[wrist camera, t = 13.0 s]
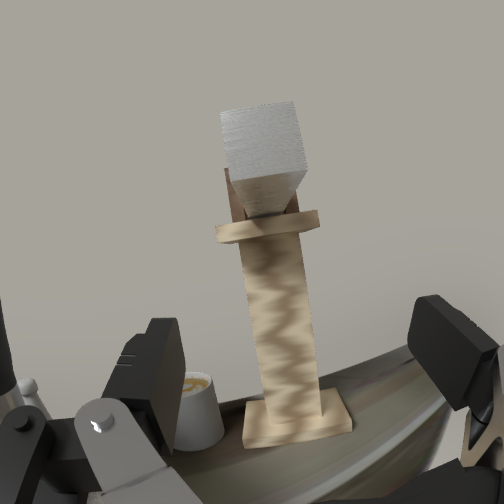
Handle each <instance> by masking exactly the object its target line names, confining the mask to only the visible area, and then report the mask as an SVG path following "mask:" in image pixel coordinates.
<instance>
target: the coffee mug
mask: <svg viewBox="0 0 504 504" xmlns="http://www.w3.org/2000/svg"><path fill="white" fill-rule="evenodd" d="M224 432H225V430H224V426H223V422H222V418H221V414H220V410H219V406H218V402H217V398H216V394H215V390H214V386H213V381H212V378H211V376H209V375H208V374H205V373H201V372H185V380H184V385H183V391H182V397H181V403H180V409H179V415H178V421H177V427H176V434H175V440H174V447H173V448H174V449H177V450H181V451H198V450H203V449H206V448H209V447H211V446H213V445H215V444H216V443H218V442H219V441H220V440H221V439H222V437H223V436H224Z"/></svg>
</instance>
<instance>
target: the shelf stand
mask: <svg viewBox="0 0 504 504" xmlns="http://www.w3.org/2000/svg"><path fill="white" fill-rule="evenodd" d="M225 176H226V182H227V189H228V195H229V202H230V208H231V215H232V220H233V223H230V224H224V225H218V226H215V229H216V235H217V241H218V243H226V244H233V243H239V249H240V255H241V261H242V267H243V273H244V280H245V285H246V292H247V298H248V303H249V310H250V316H251V322H252V327H253V333H254V339H255V345H256V351H257V357H258V363H259V368H260V374H261V380H262V385H263V391H264V397H265V400H257V401H249V402H247V403H246V411H245V420H244V429H243V437H242V440H243V444H244V448H245V449H250V448H260V447H269V446H277V445H285V444H291V443H298V442H304V441H309V440H315V439H320V438H325V437H330V436H335V435H339V434H344V433H348V432H352V420H351V418H350V416H349V414H348V412H347V410H346V408H345V406H344V404H343V402H342V400H341V398H340V396H339V394H338V392H337V390H336V388H330V389H325V390H320V391H319V381H318V372H317V363H316V354H315V346H314V337H313V329H312V321H311V313H310V307H309V298H308V291H307V284H306V277H305V270H304V264H303V257H302V251H301V245H300V238H299V233H301V232H306V231H309V230H312V229H314V228H317V227H320V224H319V218H318V212H317V210H312V211H305V212H299V206H298V200H297V195H296V191H295V193H294V194H293V196H292V198H291V199H290V201H289V203H288V205H287V206H286V208H285V210H284V214H285V215H279V216H272V217H266V218H260V219H254V220H248V221H247V219H246V213H245V209H244V208H243V206H242V204H241V202H240V200H239V198H238V196H237V194H236V192H235V190H234V188H233V186H232V184H231V182H230V177H229V170H228V168H225Z"/></svg>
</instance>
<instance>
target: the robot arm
mask: <svg viewBox="0 0 504 504" xmlns="http://www.w3.org/2000/svg"><path fill="white" fill-rule="evenodd" d="M407 339H408V340H407V341H408V347H409V350H410V352H411V353H412V354H413V356H414V357H415V358H416V359H417V361H418V362H419V363H420V365H421V366H422V367H423V369H424V370H425V371H426V373H427V374H428V375H429V377H430V378H431V379H432V381H433V382H434V383H435V385H436V386H437V387H438V389H439V390H440V392H441V393H442V394H443V396H444V397H445V398H446V400H447V401H448V403H449V404H450V405H451V407H452V408H453V410H454V411H457V410H460V409H462V408H464V407H467V406H469V408H470V410H469V411H468V413H467V416H466V422H465V432H464V440H463V448H462V454H461V459H460V461H459V459H458V458H456V459H454V460H452V461H450V462H447V463H446V464H443V465H441V466H438V467H436V468H434V469H431V470H429V471H427V472H424V473H422V474H421V475H419V476H418V477H416V478H415V479H413V480H412V481H410V482H409V483H407V484H406V485H404V486H403V487H401V488H400V489H398V490H396V491H395V492H393V493H391V494H390V495H388V496H386V497H383V498H373V499H355V500H330V501H324V502H319V503H313V504H504V345H502V346H499V345H498V344H497V343H496V342H495V341H494V340H493V339H492V338H490V336H488V335H487V334H486V333H485V332H484V331H483V330H482V329H481V328H479V327H477V325H476V324H475V323H474V322H473V321H470V319H469V318H468V317H467V316H466V315H465V314H463V313H462V312H461V311H459V310H457V309H455V308H453V307H452V306H451V305H450V304H449V303H448V302H446V301H445V300H444V299H443V298H441V297H440V296H439V295H430V296H423V297H419V298H418V299H417V300H416V302H415V305H414V310H413V315H412V319H411V324H410V328H409V332H408V338H407ZM185 371H186V368H185V357H184V352H183V347H182V342H181V337H180V331H179V326H178V322H177V319H176V318H152V319H151V321H150V323H149V326H148V328H147V330H146V333H145V334H136V335H135V336H134V337H133V338H131V339H130V340H129V341H128V342H127V343H126V345H125V347H124V349H123V351H122V353H121V356H120V357H119V359H118V362H117V365H116V366H115V368H114V370H113V372H112V374H111V376H110V379H109V381H108V383H107V385H106V387H105V390H104V392H103V394H102V397H101V398H100V399H95V400H92V401H90V402H88V403H86V404H85V405H83V406H82V407H81V408H80V409H79V410H78V412H77V414H76V416H75V418H67V419H56V420H47V418H46V417H45V415H44V414H43V412H42V411H41V410H40V409H39V408H37V407H35V406H31V405H25V402H24V400H23V397H22V395H21V392H20V389H19V386H18V384H17V381H16V378H15V375H14V371H13V366H12V359H11V352H10V348H9V344H8V340H7V335H6V330H5V325H4V319H3V313H2V307H1V300H0V504H86V502H87V498H88V493H89V492H98V491H103V494H101V498H102V501H103V503H104V504H203V503H202V501H201V500H200V499H199V498H198V497H197V496H196V495H195V494H194V492H193V491H192V490H191V489H190V488H189V487H188V485H187V484H186V483H185V482H184V481H183V479H182V478H181V477H180V476H179V475H178V473H177V472H176V471H175V470H174V469H173V468H172V467H171V466H170V465H169V466H167V464H166V463H165V462H164V461H163V459H162V458H161V457H160V456H172V453H173V447H174V440H175V434H176V427H177V421H178V415H179V409H180V403H181V397H182V391H183V385H184V380H185Z"/></svg>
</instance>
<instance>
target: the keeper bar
mask: <svg viewBox="0 0 504 504" xmlns="http://www.w3.org/2000/svg"><path fill="white" fill-rule="evenodd" d="M220 117H221V124H222V131H223V137H224V144H225V151H226V157H227V164H228V170H229V177H230V182H231V184H232V186H233V188H234V190H235V192H236V194H237V196H238V198H239V200H240V202H241V204H242V206H243V208H244V209H245V213H246V219H247V221H248V220H254V219H260V218H266V217H272V216H279V215H285V214H284V210H285V208H286V206H287V205H288V203H289V201H290V199H291V198H292V196H293V194H294V193H295V191H296V189H297V188H298V186H299V184H300V182H301V181H302V179H303V177H304V175H305V174H306V172H307V170H308V168H307V163H306V158H305V153H304V149H303V144H302V139H301V134H300V130H299V126H298V121H297V117H296V113H295V109H294V104H293V102H286V103H285V102H284V103H276V104H268V105H261V106H254V107H248V108H241V109H235V110H230V111H224V112H220Z"/></svg>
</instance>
